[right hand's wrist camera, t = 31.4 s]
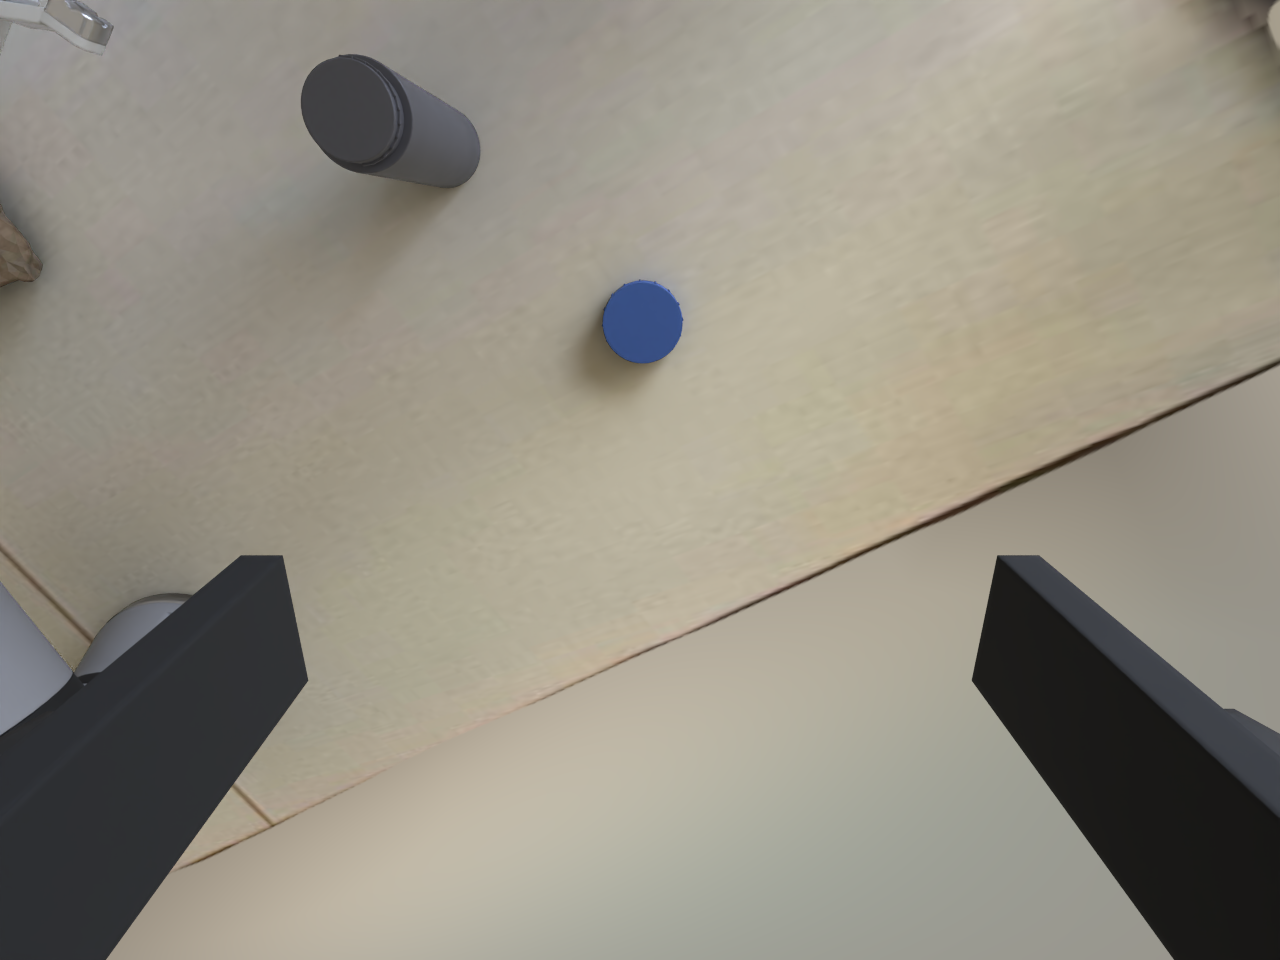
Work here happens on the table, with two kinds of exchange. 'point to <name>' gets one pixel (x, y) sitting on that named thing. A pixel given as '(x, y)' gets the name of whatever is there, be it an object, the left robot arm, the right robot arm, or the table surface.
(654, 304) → the lid
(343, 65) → the dark grey bottle
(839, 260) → the table surface
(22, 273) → the stone
